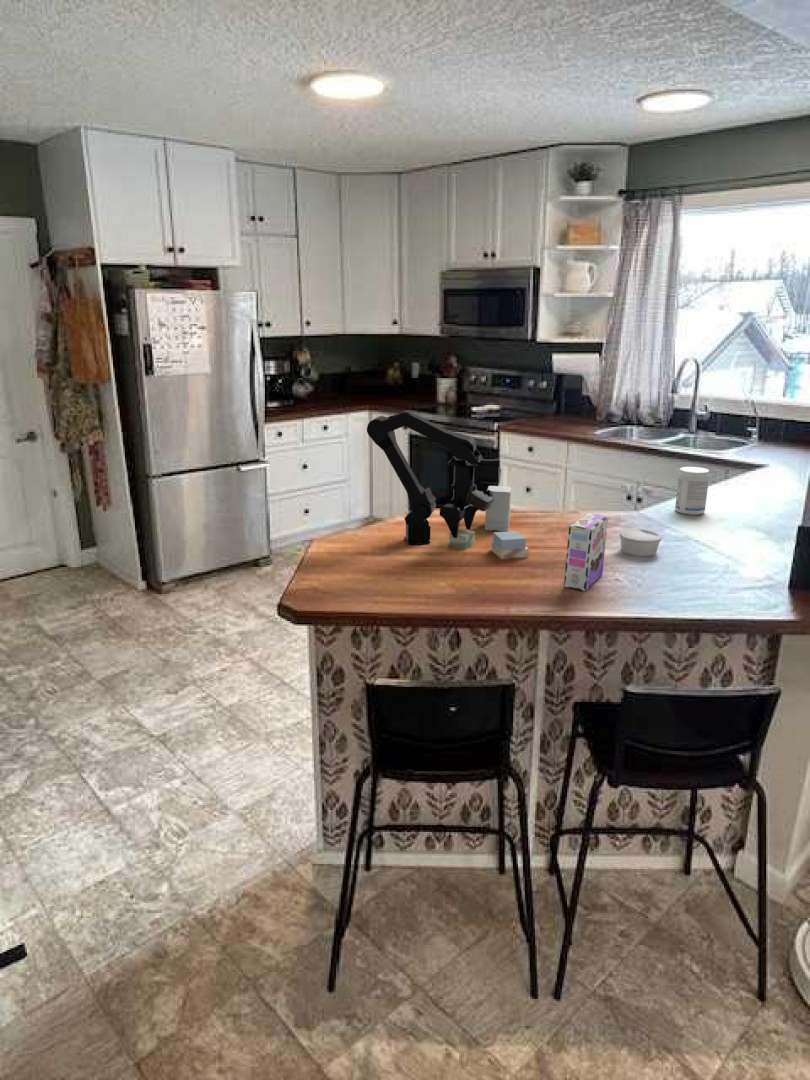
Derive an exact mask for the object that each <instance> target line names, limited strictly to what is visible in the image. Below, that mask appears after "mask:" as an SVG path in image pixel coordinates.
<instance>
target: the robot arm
mask: <svg viewBox="0 0 810 1080" xmlns="http://www.w3.org/2000/svg"><path fill="white" fill-rule="evenodd" d="M403 427H406V428H408V429H410V430H412V431H414V432H416V433H419V434H420V435H422V436H424V437H425V438H428V439H430V440H431V441H434V442H436V443H438V444H439V445H441V446H443V447H444V448H445V449H446V451H448V452H449V453H450V454H452V455H453V456H452V458H451V459H450V460H449V461H448V462H447V463H446V465H447V466H448V467H453V483H452V484H451V485H450V489H451V490H453V491H452V493H453V496H452V498H450V503H446V504H444V505H443V506H441V507H440V508H439V516H440V517H442V518H443V519H444V521H445V524H446V526H447V527H448V530H449V531H450V533H451V534H452V536H453V538H457V536H458V530H459V529H460V523H461V521H462V520H463V522H464V526H465V530H468V531H471V529H472V525H473V521H474V520H475V517H476V513H477V512H478V511H481V512H486V510H487V509H489V507H490V505H491V503H492V502H493V501H494V500H493V498H494V497H493V492H492V491H491V490H489V489H488V488H487V489H486V490H485V491H483V490H481V491H480V490H478V485H477V484H475V483H474V482H475V479H476V480H477V481H479V483H481V484H483V483H484V484H497V485H498V484H500V483H501V477H502V469H501V468H502V467H501V459H500V458H499V459H498V458H495V459H492V458H491V459H490V458H488V459H487V458H486V459H485V458H484V457H483V455H482V454H481V453H480V451H479V450H478V448H477V443H476V439H474V438H473V437H472V436H470V435H466V434H464V433H459V432H453V431H449V430H448V429H446V428H444V427H441V426H440V425H437V423H434V422H431V421H430V420H427V419H426V418H424V417H422V416H419V415H418V414H416V413H414V412H413V411H412V410H410V409H407V410H404V411H402V412H400V413H396V414H393V415H390V416H388V417H387V416H384V415H379V416H377V417H375V418H373V419H372V420H370V421H369V422H368V424H367V426H366V433H367V435H368V436H369V438H370V439H371V440H372V442H373V443H374V444H375V445H377V446H378V447H379V448H380V449H381V450H382V451H383V452H384V454H385V456H386V458H387V459H388V462H389V463H390V465H391V467H392V468H393V471H395V474H396V476H397V477H398V479H399V481H400V482H401V484H402V486H403V488H404V489H405V491H406V493H407V498H408V499H407V500H408V504H409V506H410V509H411V510H410V511H409V512H408V513H407V514H406V515H405V517H404V521H405V536H403V537H404V538H403V539H404V540H405V541H406V543H407V544H408V545H410V546H411V545H412V546H413V545H414V546H415V545H425V544H426V545H427V544H431V541H430V540H431V526H430V522H429V520H428V519H429V518H430V517H431V515H432V514H433V513H434V511H435V510H436V505H437V502H436V499H437V497H435V495H434V494H433V492H432V489H431V487H430V486H428V487H427V488H424V487H423V486H422V485H421V484H420V482H419V480H418V478H417V477H416V474H415V473H414V471H413V470H412V468H411V466H410V464H409V462H408V461H407V459H406V457H405V456H404V453H403V452H402V450H401V447H400V446H399V444H398V442H397V437H396V432H395V430H398V429H400V428H403Z"/></svg>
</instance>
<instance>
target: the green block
mask: <svg viewBox="0 0 810 1080" xmlns="http://www.w3.org/2000/svg"><path fill="white" fill-rule="evenodd" d="M475 536H476V531H473V530H468V529H463V528H462V529H461V528H459V530H458V536H457V538H453V536H452V534H451V532H450V533H449V537H448V539H449V540H448V542H449V543H448V546H449V547H451V546H453V547H452V548H456V547H457V549H461V548H463V550H468V549H469V548H471V547H472V546H474V545H475ZM473 544H474V545H473ZM471 545H472V546H471ZM470 546H471V547H470ZM467 548H468V549H467Z"/></svg>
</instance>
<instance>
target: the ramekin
mask: <svg viewBox="0 0 810 1080" xmlns="http://www.w3.org/2000/svg"><path fill="white" fill-rule="evenodd" d="M619 537H620V548H621V550H622V552H624V553H625V554H627V555H629V556H634V557H640V558H643V557H644V558H645V557H652V556H654V555H656V553H657V551H658V548H659V545H660V542H661V541H662V535H660V534H659V533H657V532H654V531H651V530H648V529H642V528H641V529H640V528H628V529H624V530H622V531H620V533H619Z"/></svg>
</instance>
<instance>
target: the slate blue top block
mask: <svg viewBox="0 0 810 1080" xmlns="http://www.w3.org/2000/svg"><path fill="white" fill-rule="evenodd" d="M492 535H493V536H492V537H493V538H492V539H493V540H492V542H493V543H494V544H495V545H496V546H497V547H499V548H500V549H501V550H513V549H525V547H527V545H526V543H527V538H526V537H525V536H524V535H523V534H521V533H520V532H519V531H518V530H511V531H510V530H509V531H494V532H493V534H492Z"/></svg>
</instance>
